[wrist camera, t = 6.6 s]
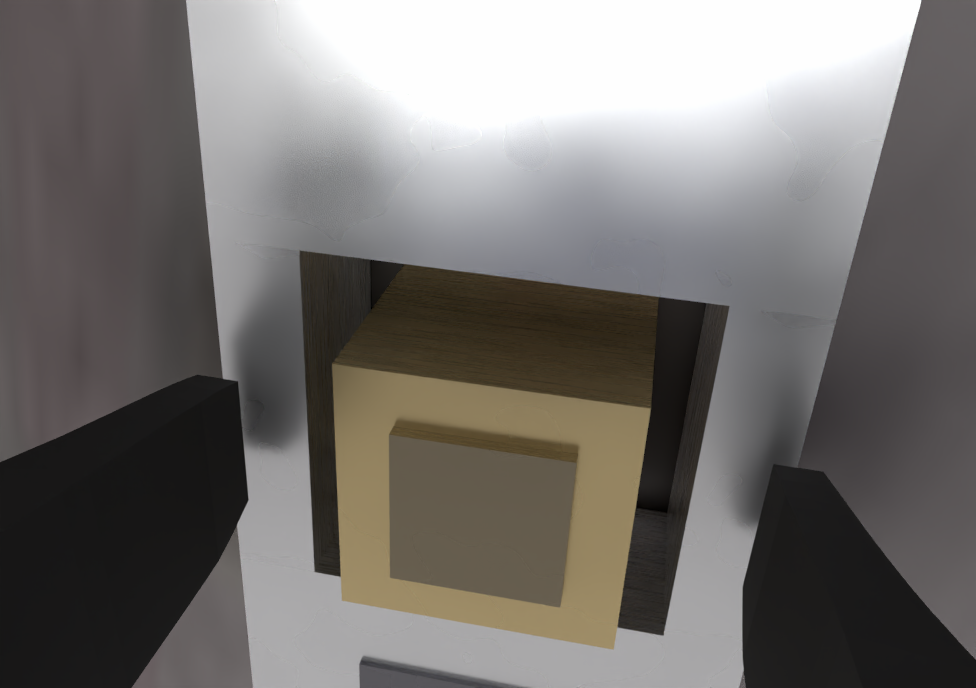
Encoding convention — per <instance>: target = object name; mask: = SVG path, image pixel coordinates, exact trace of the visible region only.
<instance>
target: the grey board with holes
mask: <svg viewBox="0 0 976 688" xmlns="http://www.w3.org/2000/svg"><path fill="white" fill-rule="evenodd" d="M920 3H921V0H186V4H187V14H188V24H189V34H190V45H191V55H192V65H193V76H194V86H195V96H196V106H197V117H198V127H199V137H200V147H201V158H202V168H203V178H204V188H205V199H206V209H207V219H208V230H209V240H210V250H211V260H212V271H213V281H214V291H215V301H216V312H217V322H218V332H219V343H220V353H221V363H222V373H223V379H227V380H233V381H238V386H239V397H240V409H241V420H242V431H243V442H244V454H245V465H246V476H247V487H248V499H249V500H248V503H247V505H246V507H245V509H244V511H243V513H242V515H241V517H240V519H239V521H238V524H237V527H238V538H239V548H240V558H241V568H242V579H243V589H244V599H245V609H246V620H247V630H248V640H249V651H250V661H251V671H252V681H253V688H739V686H740V682H741V678H742V674H743V670H744V666H743V653H742V594H743V583H744V579H745V575H746V571H747V567H748V563H749V559H750V555H751V551H752V547H753V543H754V539H755V535H756V531H757V527H758V523H759V519H760V515H761V511H762V507H763V503H764V499H765V495H766V491H767V487H768V483H769V479H770V475H771V471H772V467H773V464H776V465H782V466H788V467H795V468H797V467H798V463H799V459H800V456H801V452H802V448H803V444H804V441H805V437H806V433H807V429H808V425H809V422H810V418H811V414H812V410H813V407H814V403H815V399H816V395H817V392H818V388H819V384H820V380H821V376H822V373H823V369H824V365H825V361H826V358H827V354H828V350H829V346H830V343H831V339H832V335H833V331H834V327H835V324H836V320H837V316H838V312H839V309H840V305H841V301H842V297H843V294H844V290H845V286H846V282H847V278H848V275H849V271H850V267H851V263H852V260H853V256H854V252H855V248H856V245H857V241H858V237H859V233H860V229H861V226H862V222H863V218H864V214H865V211H866V207H867V203H868V199H869V196H870V192H871V188H872V184H873V180H874V177H875V173H876V169H877V165H878V162H879V158H880V154H881V150H882V147H883V143H884V139H885V135H886V131H887V128H888V124H889V120H890V116H891V113H892V109H893V105H894V101H895V98H896V94H897V90H898V86H899V82H900V79H901V75H902V71H903V67H904V64H905V60H906V56H907V52H908V49H909V45H910V41H911V37H912V33H913V30H914V26H915V22H916V18H917V15H918V11H919V7H920ZM370 260H378V261H386V262H393V263H401V264H409V265H416V266H424V267H432V268H440V269H447V270H455V271H463V272H471V273H478V274H486V275H494V276H502V277H509V278H517V279H525V280H532V281H540V282H548V283H556V284H563V285H571V286H579V287H587V288H594V289H602V290H610V291H618V292H625V293H633V294H641V295H648V296H656V297H664V298H672V299H679V300H687V301H695V302H703V303H706V308H705V313H704V318H703V324H702V329H701V334H700V340H699V345H698V350H697V356H696V361H695V366H694V372H693V377H692V383H691V388H690V393H689V399H688V404H687V409H686V415H685V420H684V425H683V431H682V436H681V441H680V447H679V452H678V457H677V463H676V468H675V473H674V479H673V484H672V489H671V495H670V500H669V505H668V511H667V513H666V512H660V511H654V510H648V509H641V508H636V509H635V515H634V522H633V528H632V535H631V541H630V548H629V554H628V561H627V567H626V574H625V580H624V587H623V593H622V600H621V606H620V613H619V619H618V626H617V632H616V639H615V645H614V650H612V649H606V648H601V647H595V646H590V645H584V644H579V643H573V642H568V641H562V640H557V639H551V638H546V637H540V636H534V635H529V634H523V633H518V632H512V631H507V630H501V629H496V628H490V627H485V626H479V625H474V624H468V623H462V622H457V621H451V620H446V619H440V618H435V617H429V616H424V615H418V614H413V613H407V612H402V611H396V610H390V609H385V608H379V607H374V606H368V605H363V604H357V603H352V602H346V601H342V594H341V570H340V546H339V521H338V497H337V473H336V449H335V425H334V401H333V377H332V363H333V362H334V361H335V359H336V358H337V356H338V355H339V354H340V352H341V351H342V350H343V348H344V347H345V345H346V344H347V343H348V341H349V340H350V339H351V337H352V336H353V334H354V333H355V332H356V330H357V329H358V327H359V326H360V325H361V323H362V322H363V321H364V319H365V318H366V316H367V315H368V314H369V312H370V311H371V277H370Z"/></svg>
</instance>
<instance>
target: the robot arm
mask: <svg viewBox="0 0 976 688" xmlns="http://www.w3.org/2000/svg"><path fill="white" fill-rule="evenodd" d="M248 500H249V499H248V487H247V476H246V465H245V454H244V442H243V431H242V420H241V409H240V397H239V386H238V381H233V380H227V379H221V378H214V377H208V376H201V375H195V376H193V377H190V378H187V379H185V380H182V381H180V382H177V383H175V384H172V385H170V386H168V387H166V388H163V389H161V390H159V391H157V392H155V393H152V394H150V395H148V396H146V397H144V398H142V399H140V400H137V401H135V402H133V403H131V404H129V405H127V406H125V407H123V408H121V409H118V410H116V411H114V412H112V413H110V414H108V415H106V416H104V417H101V418H99V419H97V420H95V421H93V422H91V423H89V424H86V425H84V426H82V427H80V428H78V429H76V430H74V431H72V432H69V433H67V434H65V435H63V436H61V437H58V438H56V439H54V440H51V441H49V442H47V443H44V444H42V445H40V446H37V447H35V448H33V449H30V450H28V451H26V452H23V453H21V454H19V455H16V456H14V457H12V458H9V459H7V460H5V461H2V462H0V688H132V686H133V685H134V683H135V682H136V680H137V679H138V678H139V676H140V675H141V673H142V672H143V670H144V669H145V667H146V666H147V665H148V663H149V662H150V660H151V659H152V657H153V656H154V654H155V653H156V652H157V650H158V649H159V647H160V646H161V644H162V643H163V642H164V640H165V639H166V637H167V636H168V634H169V633H170V631H171V630H172V629H173V627H174V626H175V624H176V623H177V621H178V620H179V618H180V617H181V616H182V614H183V613H184V611H185V610H186V608H187V607H188V605H189V604H190V603H191V601H192V600H193V598H194V597H195V595H196V594H197V592H198V591H199V589H200V588H201V586H202V585H203V583H204V582H205V580H206V579H207V578H208V576H209V575H210V573H211V571H212V570H213V568H214V567H215V565H216V564H217V562H218V561H219V559H220V557H221V555H222V553H223V551H224V549H225V547H226V546H227V544H228V542H229V540H230V538H231V536H232V534H233V532H234V530H235V528H236V526H237V524H238V521H239V519H240V517H241V515H242V513H243V511H244V509H245V507H246V505H247V503H248ZM742 653H743V666H744V675H745V683H746V688H976V660H975V659H974V658H973V656H972V655H971V654H970V653H969V652H968V651H967V650H966V649H965V648H964V647H963V646H962V645H961V644H960V643H959V642H958V640H957V639H956V638H955V637H954V636H953V635H952V634H951V633H950V632H949V630H948V629H947V628H946V627H945V626H944V625H943V624H942V623H941V622H940V621H939V619H938V618H937V617H936V616H935V615H934V614H933V613H932V612H931V611H930V609H929V608H928V607H927V606H926V605H925V604H924V602H923V601H922V600H921V599H920V598H919V597H918V595H917V594H916V593H915V592H914V591H913V589H912V588H911V587H910V586H909V585H908V583H907V582H906V581H905V580H904V578H903V577H902V576H901V575H900V573H899V572H898V571H897V570H896V568H895V567H894V566H893V565H892V563H891V562H890V561H889V560H888V558H887V557H886V556H885V554H884V553H883V552H882V551H881V549H880V548H879V547H878V545H877V544H876V543H875V541H874V540H873V539H872V537H871V536H870V535H869V533H868V532H867V531H866V529H865V528H864V527H863V525H862V524H861V523H860V521H859V520H858V518H857V517H856V516H855V514H854V513H853V512H852V510H851V509H850V507H849V506H848V505H847V503H846V502H845V501H844V499H843V498H842V497H841V495H840V494H839V492H838V491H837V490H836V488H835V487H834V486H833V484H832V483H831V482H830V480H829V479H828V478H827V476H826V475H825V474H824V472H821V471H814V470H808V469H801V468H795V467H788V466H782V465H776V464H773V467H772V471H771V475H770V479H769V483H768V487H767V491H766V495H765V499H764V503H763V507H762V511H761V515H760V519H759V523H758V527H757V531H756V535H755V539H754V543H753V547H752V551H751V555H750V559H749V563H748V567H747V571H746V575H745V579H744V583H743V594H742Z"/></svg>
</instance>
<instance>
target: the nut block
mask: <svg viewBox="0 0 976 688" xmlns="http://www.w3.org/2000/svg"><path fill="white" fill-rule="evenodd" d="M658 298H659V297H656V296H648V295H641V294H633V293H625V292H618V291H610V290H602V289H594V288H587V287H579V286H571V285H563V284H556V283H548V282H540V281H532V280H525V279H517V278H509V277H502V276H494V275H486V274H478V273H471V272H463V271H455V270H447V269H440V268H432V267H424V266H416V265H409V264H404V265H403V267H402V268H401V270H400V271H399V272H398V274H397V275H396V276H395V278H394V279H393V281H392V282H391V283H390V285H389V286H388V288H387V289H386V290H385V292H384V293H383V294H382V296H381V297H380V299H379V300H378V301H377V303H376V304H375V305H374V307H373V308H372V310H371V311H370V312H369V314H368V315H367V316H366V318H365V319H364V321H363V322H362V323H361V325H360V326H359V327H358V329H357V330H356V332H355V333H354V334H353V336H352V337H351V339H350V340H349V341H348V343H347V344H346V345H345V347H344V348H343V350H342V351H341V352H340V354H339V355H338V356H337V358H336V359H335V361H334V362H333V363H332V377H333V401H334V425H335V449H336V473H337V497H338V521H339V546H340V570H341V594H342V601H346V602H352V603H357V604H363V605H368V606H374V607H379V608H385V609H390V610H396V611H402V612H407V613H413V614H418V615H424V616H429V617H435V618H440V619H446V620H451V621H457V622H462V623H468V624H474V625H479V626H485V627H490V628H496V629H501V630H507V631H512V632H518V633H523V634H529V635H534V636H540V637H546V638H551V639H557V640H562V641H568V642H573V643H579V644H584V645H590V646H595V647H601V648H606V649H612V650H614V645H615V639H616V632H617V626H618V619H619V613H620V606H621V600H622V593H623V587H624V580H625V574H626V567H627V561H628V554H629V548H630V541H631V535H632V528H633V522H634V515H635V509H636V502H637V496H638V489H639V483H640V476H641V470H642V463H643V457H644V450H645V444H646V437H647V431H648V424H649V418H650V411H651V400H652V386H653V371H654V356H655V342H656V327H657V312H658Z"/></svg>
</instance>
